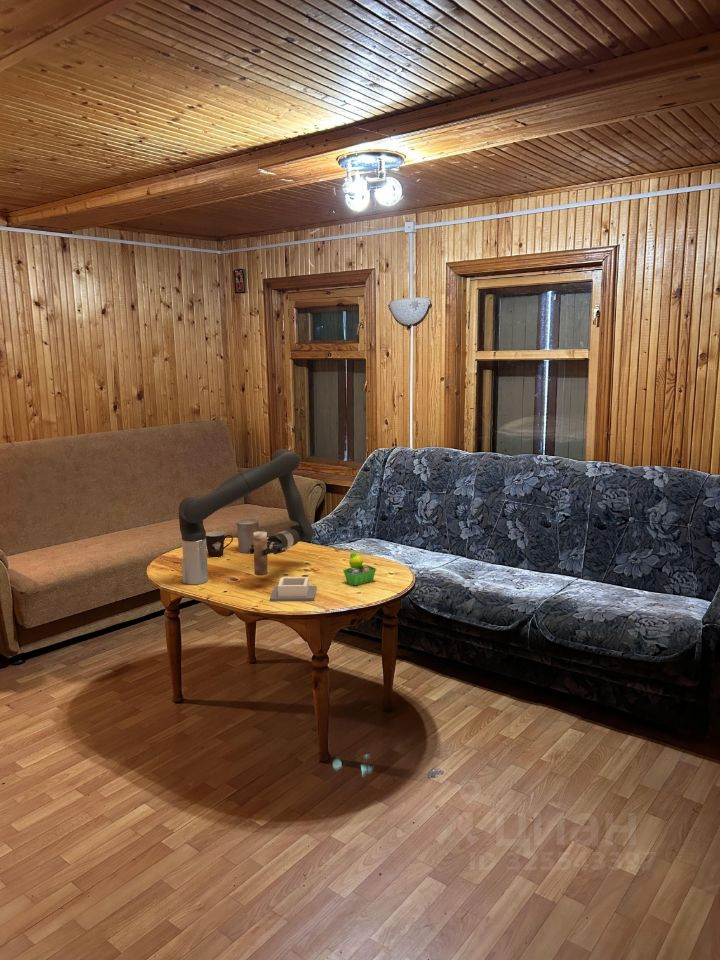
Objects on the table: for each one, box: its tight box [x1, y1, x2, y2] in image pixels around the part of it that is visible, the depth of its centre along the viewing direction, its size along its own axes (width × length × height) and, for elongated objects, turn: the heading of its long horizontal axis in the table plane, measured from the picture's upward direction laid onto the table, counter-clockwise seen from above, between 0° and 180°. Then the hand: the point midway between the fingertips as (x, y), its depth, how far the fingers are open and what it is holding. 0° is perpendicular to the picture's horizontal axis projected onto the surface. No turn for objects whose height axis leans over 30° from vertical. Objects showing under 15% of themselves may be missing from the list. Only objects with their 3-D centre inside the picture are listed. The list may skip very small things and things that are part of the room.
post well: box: [269, 576, 318, 602], centre depth 270 cm, size 16×14×5 cm
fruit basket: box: [342, 551, 377, 586], centre depth 284 cm, size 11×9×11 cm
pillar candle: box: [236, 518, 260, 554], centre depth 329 cm, size 10×10×15 cm
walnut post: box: [253, 530, 269, 577], centre depth 278 cm, size 5×5×16 cm
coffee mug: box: [206, 531, 234, 558], centre depth 322 cm, size 12×9×10 cm
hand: (256, 552), depth 275 cm, fingers closed on walnut post, 5 cm apart
